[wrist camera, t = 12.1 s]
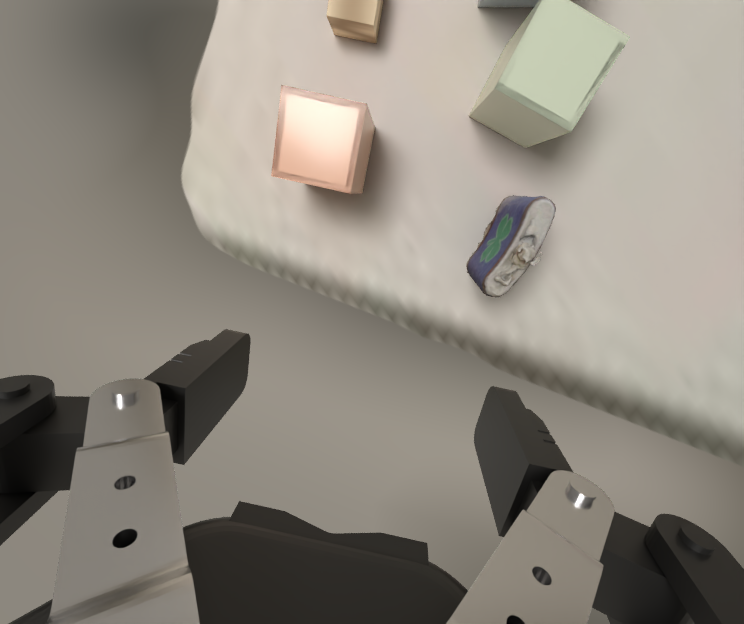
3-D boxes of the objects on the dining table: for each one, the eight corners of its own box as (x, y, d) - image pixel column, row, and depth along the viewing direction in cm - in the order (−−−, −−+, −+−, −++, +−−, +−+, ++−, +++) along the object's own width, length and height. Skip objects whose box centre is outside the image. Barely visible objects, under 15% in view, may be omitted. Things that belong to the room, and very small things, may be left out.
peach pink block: (375, 127, 36) (366, 103, 26) (362, 193, 38) (350, 193, 29) (312, 113, 36) (281, 84, 26) (302, 179, 38) (271, 176, 29)
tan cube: (385, -10, 32) (383, -37, 29) (376, 43, 34) (373, 25, 30) (340, -19, 33) (332, -47, 29) (333, 34, 34) (325, 15, 30)
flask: (505, 191, 37) (546, 192, 27) (530, 204, 37) (580, 209, 27) (460, 271, 40) (481, 298, 30) (483, 282, 40) (513, 313, 30)
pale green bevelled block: (564, 80, 34) (630, 36, 24) (525, 148, 36) (571, 132, 26) (505, 46, 33) (548, -13, 24) (468, 116, 35) (494, 88, 26)
